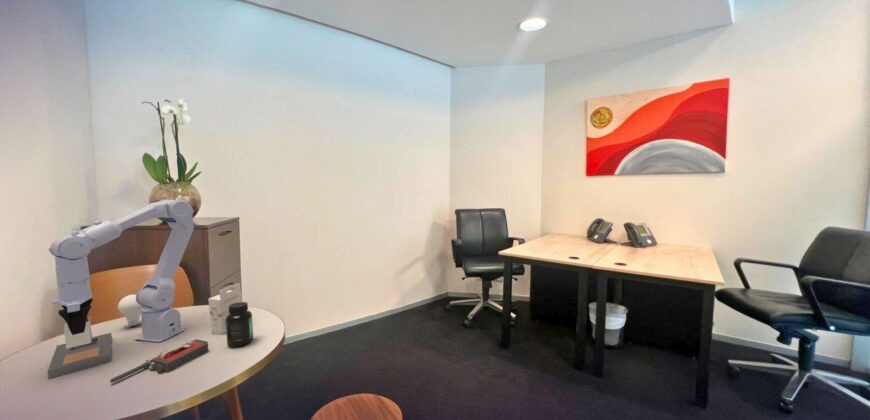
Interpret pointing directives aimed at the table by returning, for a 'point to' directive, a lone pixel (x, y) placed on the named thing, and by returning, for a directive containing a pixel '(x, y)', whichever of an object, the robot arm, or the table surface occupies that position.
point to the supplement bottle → (239, 325)
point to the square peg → (78, 336)
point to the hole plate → (81, 356)
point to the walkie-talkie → (171, 358)
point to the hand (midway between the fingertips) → (79, 330)
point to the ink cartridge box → (223, 307)
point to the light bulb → (130, 309)
